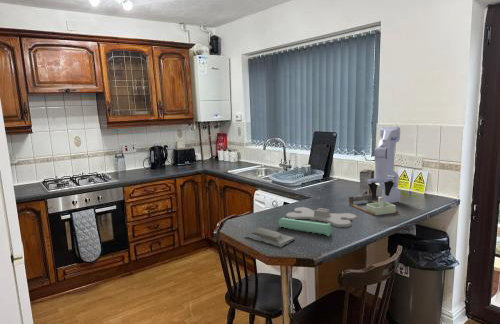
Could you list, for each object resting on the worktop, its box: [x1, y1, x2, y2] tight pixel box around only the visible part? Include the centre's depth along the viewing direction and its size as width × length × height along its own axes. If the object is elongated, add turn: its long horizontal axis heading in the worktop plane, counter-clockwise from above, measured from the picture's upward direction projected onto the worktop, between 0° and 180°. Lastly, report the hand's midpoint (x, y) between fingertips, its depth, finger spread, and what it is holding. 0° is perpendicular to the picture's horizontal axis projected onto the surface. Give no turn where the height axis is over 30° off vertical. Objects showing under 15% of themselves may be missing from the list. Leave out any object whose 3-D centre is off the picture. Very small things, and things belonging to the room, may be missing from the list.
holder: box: [285, 206, 358, 228], centre depth 172 cm, size 19×34×5 cm, turn 57°
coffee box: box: [359, 169, 375, 195], centre depth 210 cm, size 9×6×16 cm
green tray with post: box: [365, 196, 397, 216], centre depth 175 cm, size 12×8×8 cm, turn 106°
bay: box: [348, 194, 399, 217], centre depth 183 cm, size 15×24×6 cm, turn 16°
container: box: [278, 217, 333, 237], centre depth 154 cm, size 6×6×25 cm
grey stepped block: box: [251, 227, 296, 244], centre depth 146 cm, size 10×20×4 cm, turn 48°
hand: (380, 196), depth 174 cm, fingers open, 7 cm apart
